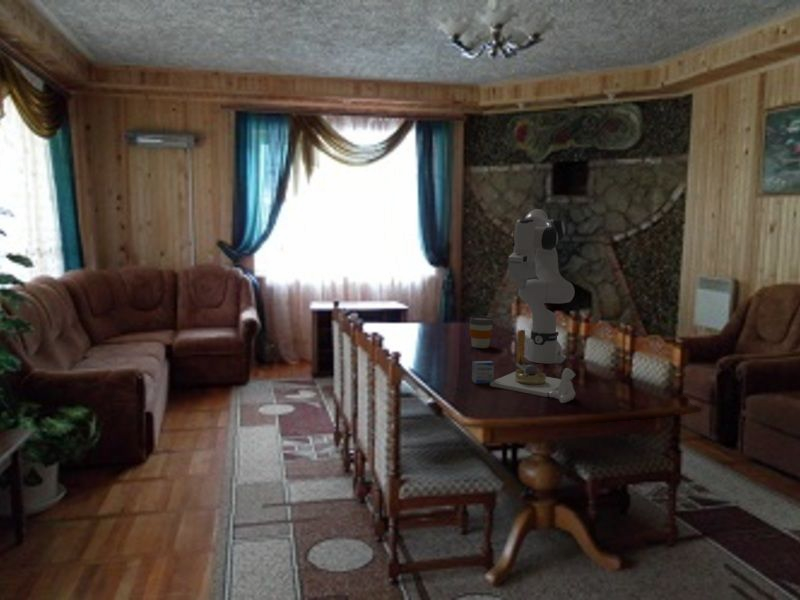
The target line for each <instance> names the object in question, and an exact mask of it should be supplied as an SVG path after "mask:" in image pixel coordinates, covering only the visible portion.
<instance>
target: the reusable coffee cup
mask: <svg viewBox="0 0 800 600" xmlns="http://www.w3.org/2000/svg"><path fill="white" fill-rule="evenodd" d="M493 325H494V318H493V317H488V316H470V317H469V336H470V339H471V340H470V341H471V347H473V348H477V349H487V348H489V347H490V341H491V339H492V336H493V335H492V334H493Z"/></svg>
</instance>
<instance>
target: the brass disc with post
mask: <svg viewBox="0 0 800 600" xmlns="http://www.w3.org/2000/svg"><path fill="white" fill-rule="evenodd" d="M525 339H526V330H525V329H518V330H517V341H516V343H517V344H516V345H517V346H516V358H515V359H516V361H515V366H516V367H518V368H516V369H515V371H516V377H515V381H516V382H518V383H521V384H526V385H542V384H545V382H546V377H547V374H546V373H544V372H542V371H540V368H536V374H527V373H526V365H527V364H526V363H524V361H525V360H524V359H525V358H524V355H525V341H526V340H525Z"/></svg>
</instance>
